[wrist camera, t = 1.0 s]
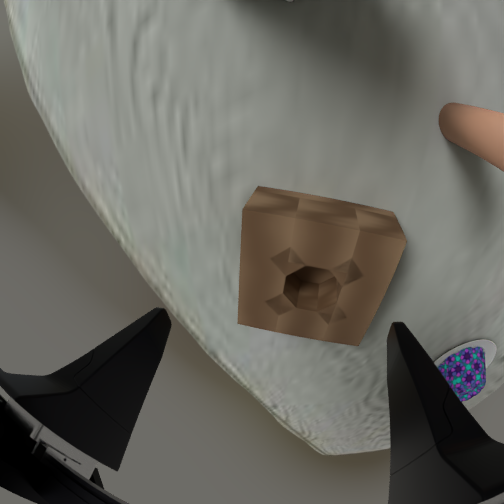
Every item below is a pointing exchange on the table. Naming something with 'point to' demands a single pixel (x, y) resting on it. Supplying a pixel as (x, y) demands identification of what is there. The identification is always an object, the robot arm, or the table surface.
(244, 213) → the bore block
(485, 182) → the table surface
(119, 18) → the table surface
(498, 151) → the pin
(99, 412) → the robot arm
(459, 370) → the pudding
